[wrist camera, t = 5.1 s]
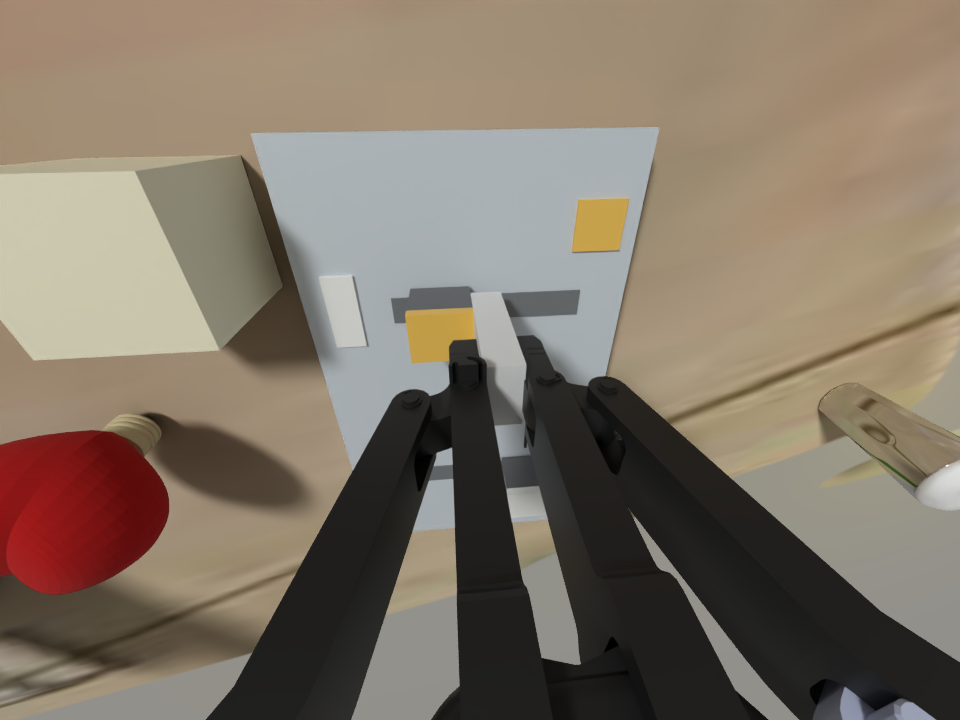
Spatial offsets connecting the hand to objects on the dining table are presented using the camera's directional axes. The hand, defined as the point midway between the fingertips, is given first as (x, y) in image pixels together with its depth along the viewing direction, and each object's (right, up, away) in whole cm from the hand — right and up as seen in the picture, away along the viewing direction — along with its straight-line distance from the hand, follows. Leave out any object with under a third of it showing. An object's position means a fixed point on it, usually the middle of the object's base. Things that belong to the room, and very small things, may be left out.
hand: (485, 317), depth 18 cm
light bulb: (-22, -6, +6) cm, 24 cm away
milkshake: (+28, -5, +10) cm, 31 cm away
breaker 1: (-2, 0, +1) cm, 2 cm away
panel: (-1, -3, +6) cm, 7 cm away
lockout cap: (-15, +4, 0) cm, 15 cm away
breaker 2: (+3, -10, +8) cm, 13 cm away
